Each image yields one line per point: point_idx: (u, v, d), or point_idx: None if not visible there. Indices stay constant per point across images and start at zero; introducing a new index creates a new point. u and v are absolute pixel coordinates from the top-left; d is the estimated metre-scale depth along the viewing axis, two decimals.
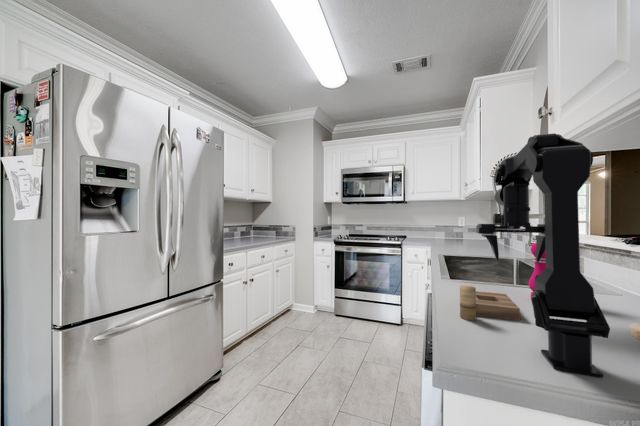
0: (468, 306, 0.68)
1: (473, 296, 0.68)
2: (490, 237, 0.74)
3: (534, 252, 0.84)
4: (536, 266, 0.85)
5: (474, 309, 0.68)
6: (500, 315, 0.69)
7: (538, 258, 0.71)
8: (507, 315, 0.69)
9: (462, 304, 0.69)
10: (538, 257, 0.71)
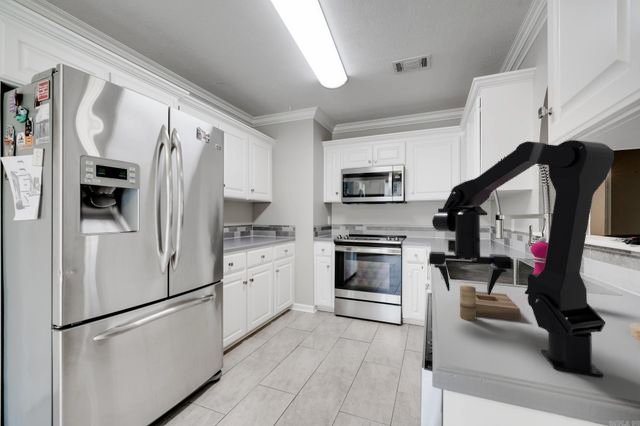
0: (468, 306, 0.68)
1: (473, 296, 0.68)
2: (440, 268, 0.70)
3: (534, 252, 0.84)
4: (536, 266, 0.85)
5: (474, 309, 0.68)
6: (500, 315, 0.69)
7: (489, 291, 0.67)
8: (507, 315, 0.69)
9: (462, 304, 0.69)
10: (489, 290, 0.67)
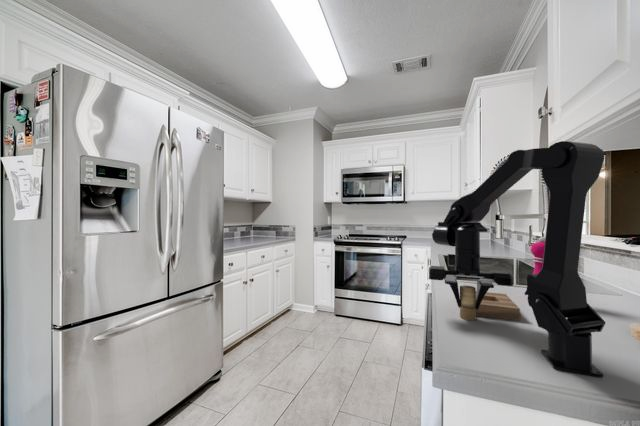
0: (468, 306, 0.68)
1: (473, 296, 0.68)
2: (451, 284, 0.69)
3: (534, 252, 0.84)
4: (536, 266, 0.85)
5: (474, 309, 0.68)
6: (500, 315, 0.69)
7: (477, 306, 0.68)
8: (507, 315, 0.69)
9: (462, 304, 0.69)
10: (477, 305, 0.68)
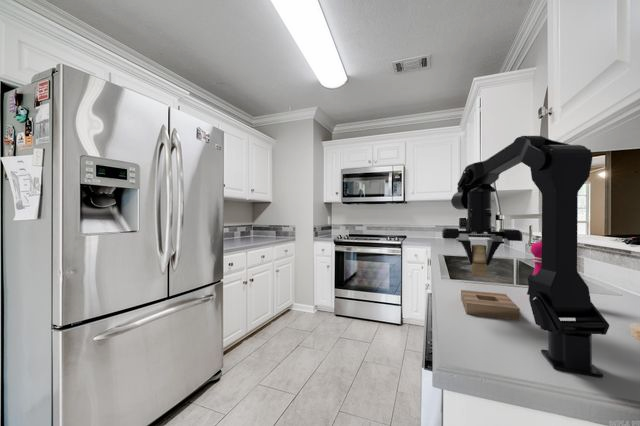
0: (480, 262, 0.73)
1: (484, 253, 0.73)
2: (464, 242, 0.74)
3: (534, 252, 0.84)
4: (536, 266, 0.85)
5: (485, 265, 0.73)
6: (500, 315, 0.69)
7: (488, 262, 0.73)
8: (507, 315, 0.69)
9: (474, 261, 0.74)
10: (488, 261, 0.73)
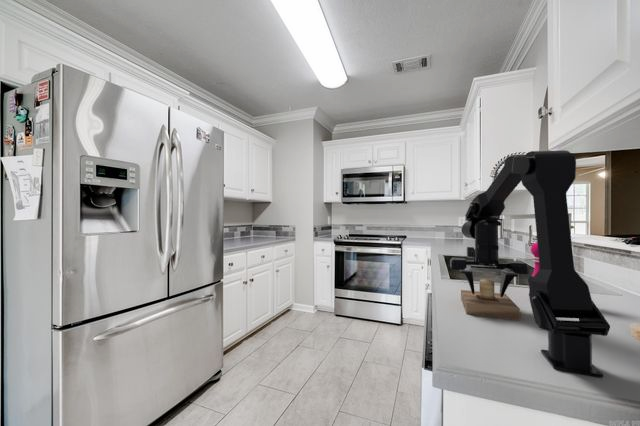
0: (488, 298, 0.75)
1: (492, 289, 0.75)
2: (466, 273, 0.76)
3: (534, 252, 0.84)
4: (536, 266, 0.85)
5: (493, 300, 0.75)
6: (500, 315, 0.69)
7: (502, 294, 0.74)
8: (507, 315, 0.69)
9: (482, 296, 0.76)
10: (501, 293, 0.74)
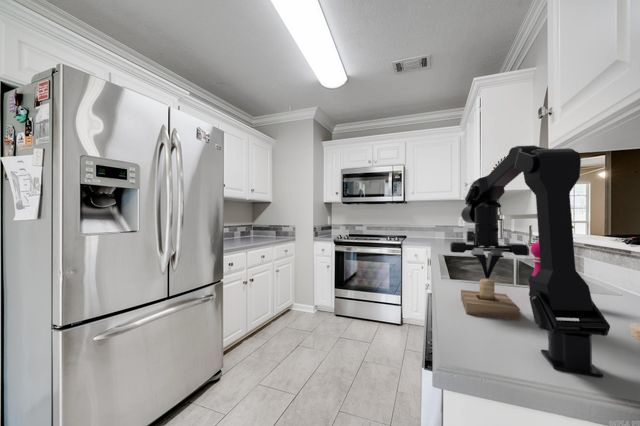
0: (488, 298, 0.75)
1: (492, 289, 0.75)
2: (479, 256, 0.75)
3: (534, 252, 0.84)
4: (536, 266, 0.85)
5: (493, 300, 0.75)
6: (500, 315, 0.69)
7: (488, 275, 0.76)
8: (507, 315, 0.69)
9: (482, 296, 0.76)
10: (488, 274, 0.76)
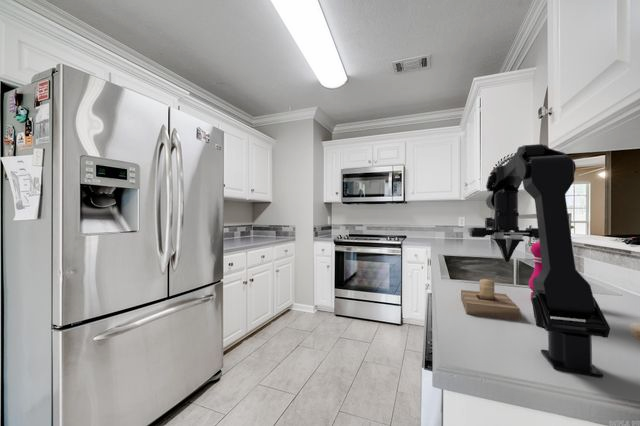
0: (488, 298, 0.75)
1: (492, 289, 0.75)
2: (499, 241, 0.77)
3: (534, 252, 0.84)
4: (536, 266, 0.85)
5: (493, 300, 0.75)
6: (500, 315, 0.69)
7: (508, 259, 0.78)
8: (507, 315, 0.69)
9: (482, 296, 0.76)
10: (508, 258, 0.78)
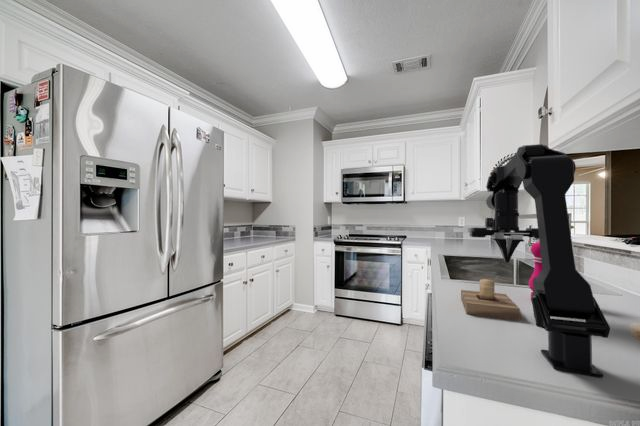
0: (488, 298, 0.75)
1: (492, 289, 0.75)
2: (499, 241, 0.77)
3: (534, 252, 0.84)
4: (536, 266, 0.85)
5: (493, 300, 0.75)
6: (500, 315, 0.69)
7: (508, 259, 0.78)
8: (507, 315, 0.69)
9: (482, 296, 0.76)
10: (508, 258, 0.78)
